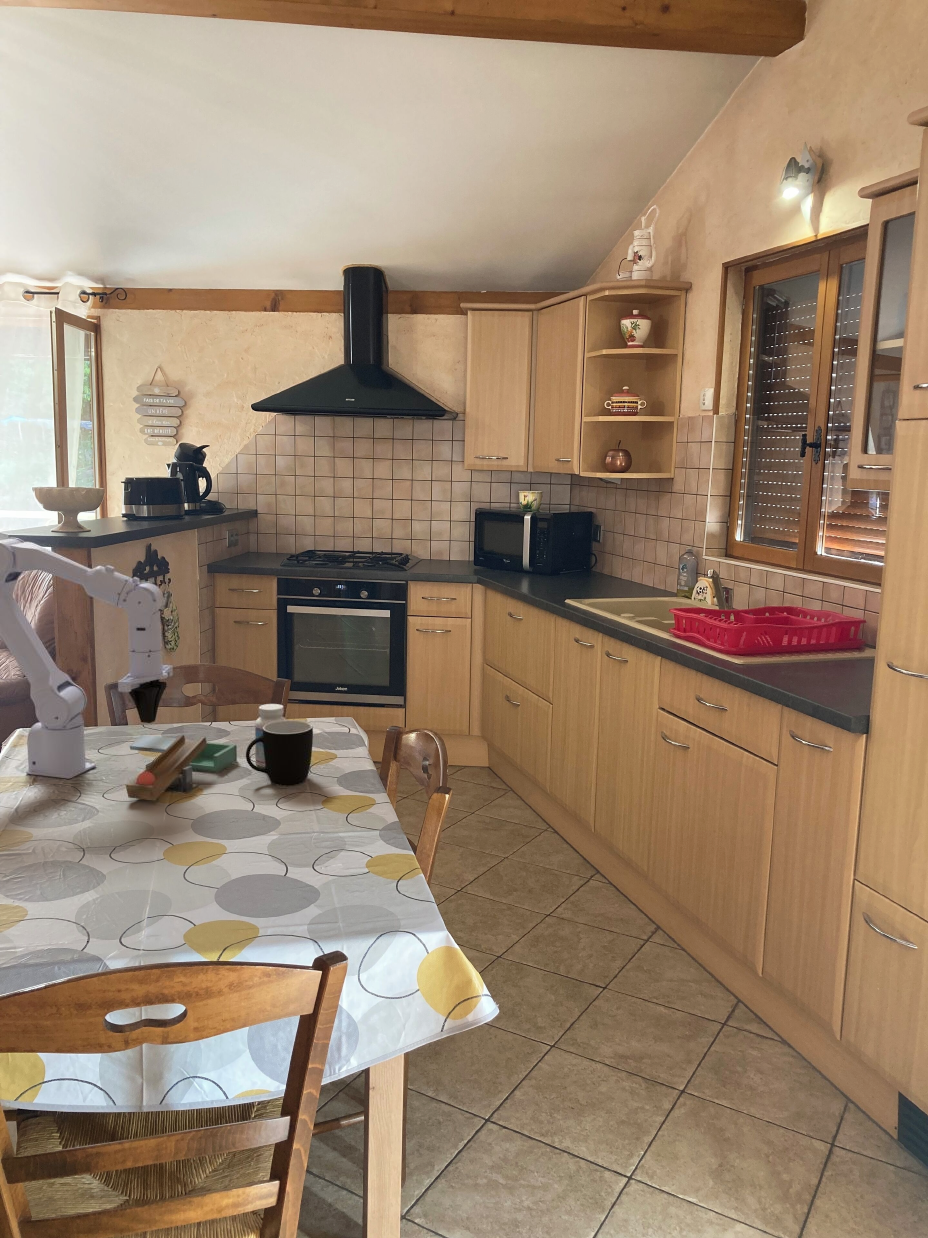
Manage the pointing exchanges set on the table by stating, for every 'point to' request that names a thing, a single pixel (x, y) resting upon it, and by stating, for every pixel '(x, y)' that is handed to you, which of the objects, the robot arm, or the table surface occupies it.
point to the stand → (181, 781)
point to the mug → (285, 751)
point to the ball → (145, 778)
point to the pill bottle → (267, 715)
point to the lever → (164, 762)
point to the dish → (215, 757)
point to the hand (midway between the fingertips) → (147, 721)
